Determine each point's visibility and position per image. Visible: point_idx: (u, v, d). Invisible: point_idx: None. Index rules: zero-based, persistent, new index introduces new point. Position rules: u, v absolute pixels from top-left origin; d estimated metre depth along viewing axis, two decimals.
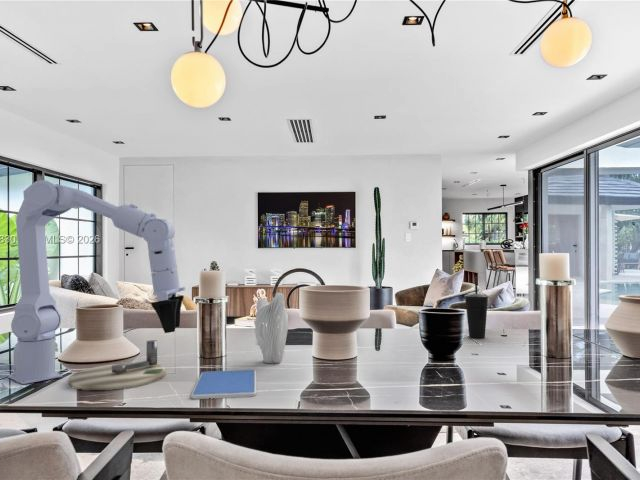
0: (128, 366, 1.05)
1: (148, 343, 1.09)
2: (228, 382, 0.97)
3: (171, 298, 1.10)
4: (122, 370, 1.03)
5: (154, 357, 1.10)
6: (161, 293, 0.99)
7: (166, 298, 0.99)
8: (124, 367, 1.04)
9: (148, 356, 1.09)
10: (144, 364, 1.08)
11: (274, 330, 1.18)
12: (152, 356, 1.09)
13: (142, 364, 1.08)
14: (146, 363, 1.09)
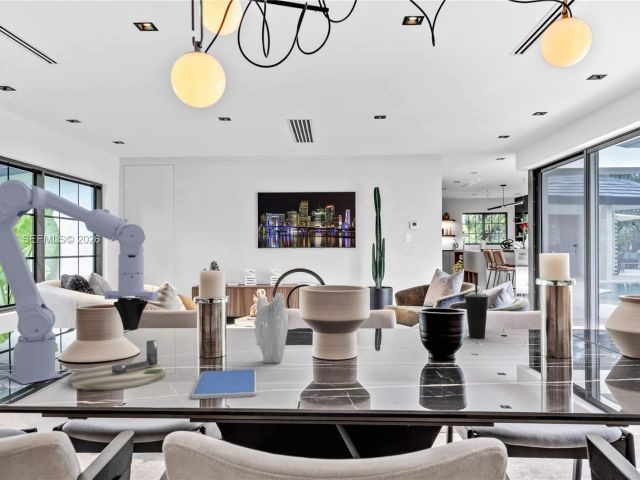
0: (128, 366, 1.05)
1: (148, 343, 1.09)
2: (228, 382, 0.97)
3: (128, 301, 1.13)
4: (122, 370, 1.03)
5: (154, 357, 1.10)
6: (155, 293, 1.10)
7: (157, 298, 1.11)
8: (124, 367, 1.04)
9: (148, 356, 1.09)
10: (144, 364, 1.08)
11: (274, 330, 1.18)
12: (152, 356, 1.09)
13: (142, 364, 1.08)
14: (146, 363, 1.09)
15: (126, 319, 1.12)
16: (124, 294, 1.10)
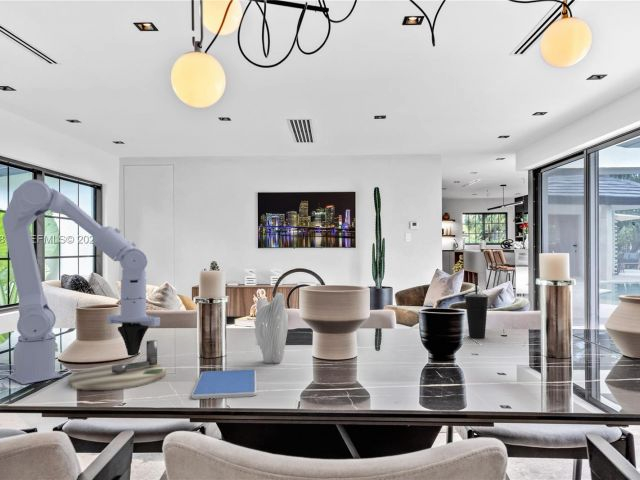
0: (128, 366, 1.05)
1: (148, 343, 1.09)
2: (228, 382, 0.97)
3: None
4: (122, 370, 1.03)
5: (154, 357, 1.10)
6: (157, 319, 1.10)
7: (159, 324, 1.10)
8: (124, 367, 1.04)
9: (148, 356, 1.09)
10: (144, 364, 1.08)
11: (274, 330, 1.18)
12: (152, 356, 1.09)
13: (142, 364, 1.08)
14: (146, 363, 1.09)
15: None
16: (126, 319, 1.09)
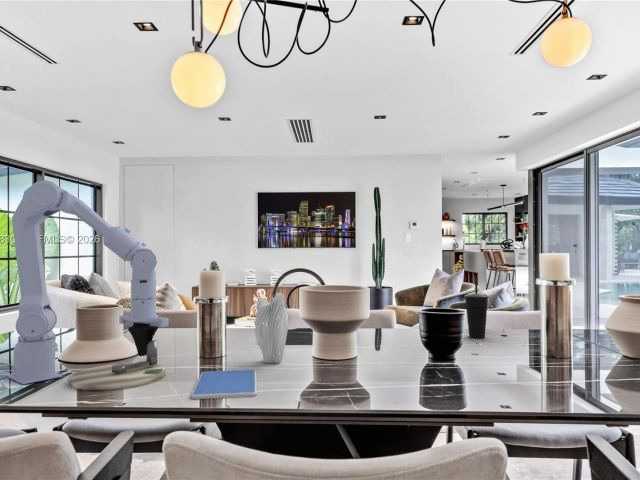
0: (128, 366, 1.05)
1: (148, 343, 1.09)
2: (228, 382, 0.97)
3: None
4: (122, 370, 1.03)
5: (154, 357, 1.10)
6: (165, 320, 1.08)
7: (168, 324, 1.09)
8: (124, 367, 1.04)
9: (148, 356, 1.09)
10: (144, 364, 1.08)
11: (274, 330, 1.18)
12: (152, 356, 1.09)
13: (142, 364, 1.08)
14: (146, 363, 1.09)
15: None
16: (135, 320, 1.09)
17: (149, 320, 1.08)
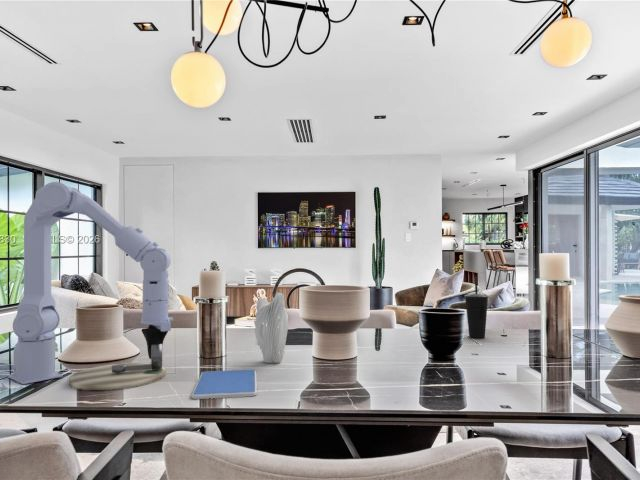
0: (127, 367, 1.04)
1: (151, 346, 1.06)
2: (228, 382, 0.97)
3: None
4: (118, 371, 1.03)
5: (157, 361, 1.05)
6: (166, 324, 1.03)
7: (169, 329, 1.03)
8: (121, 368, 1.03)
9: (151, 359, 1.06)
10: (146, 367, 1.05)
11: (274, 330, 1.18)
12: (154, 360, 1.05)
13: (143, 367, 1.05)
14: (148, 366, 1.05)
15: None
16: (143, 322, 1.06)
17: (153, 323, 1.04)
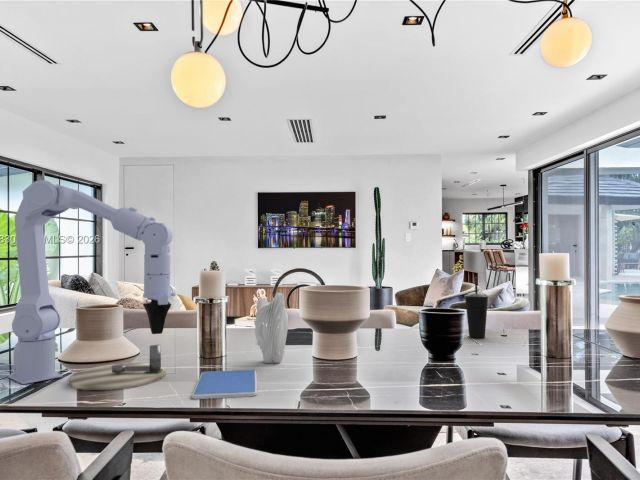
0: (126, 368, 1.04)
1: None
2: (228, 382, 0.97)
3: None
4: (116, 371, 1.03)
5: (154, 363, 1.03)
6: (163, 297, 1.01)
7: (167, 302, 1.02)
8: (119, 368, 1.03)
9: None
10: (144, 369, 1.04)
11: (274, 330, 1.18)
12: (151, 362, 1.04)
13: (142, 368, 1.04)
14: (146, 368, 1.04)
15: None
16: (144, 296, 1.05)
17: (152, 297, 1.03)
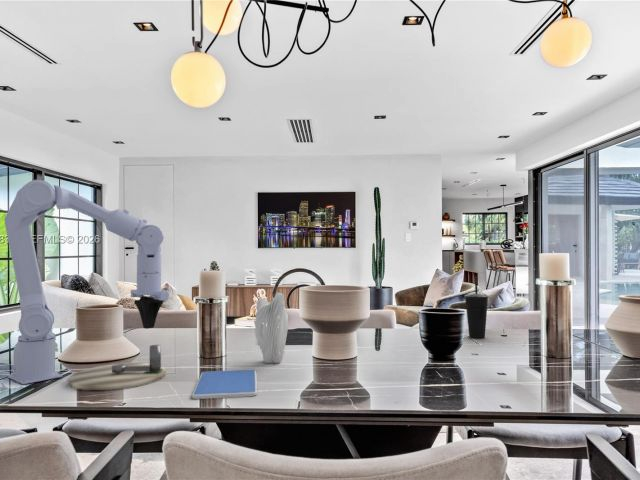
0: (126, 368, 1.04)
1: None
2: (229, 382, 0.97)
3: None
4: (116, 371, 1.03)
5: (154, 363, 1.03)
6: (164, 293, 1.11)
7: (167, 298, 1.12)
8: (119, 368, 1.03)
9: None
10: (144, 369, 1.04)
11: (274, 330, 1.18)
12: (151, 362, 1.04)
13: (142, 368, 1.04)
14: (146, 368, 1.04)
15: None
16: (139, 293, 1.13)
17: (150, 293, 1.12)
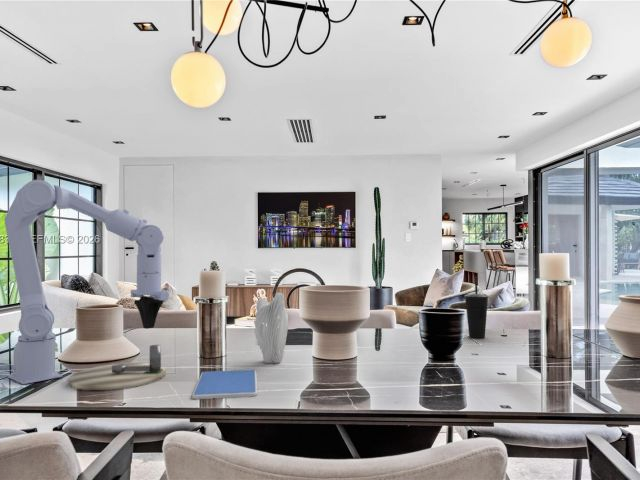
0: (126, 368, 1.04)
1: None
2: (229, 382, 0.97)
3: None
4: (116, 371, 1.03)
5: (154, 363, 1.03)
6: (164, 293, 1.11)
7: (167, 298, 1.12)
8: (119, 368, 1.03)
9: None
10: (144, 369, 1.04)
11: (274, 330, 1.18)
12: (151, 362, 1.04)
13: (142, 368, 1.04)
14: (146, 368, 1.04)
15: None
16: (139, 293, 1.13)
17: (150, 293, 1.12)
